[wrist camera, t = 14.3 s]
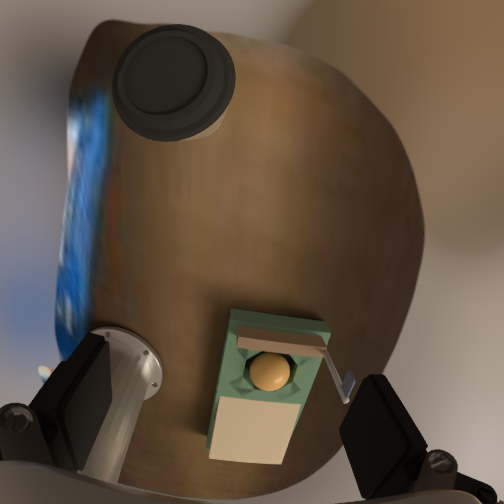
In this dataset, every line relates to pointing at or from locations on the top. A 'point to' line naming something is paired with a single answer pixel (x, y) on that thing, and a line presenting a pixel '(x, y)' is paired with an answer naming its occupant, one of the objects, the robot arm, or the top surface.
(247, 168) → the top surface
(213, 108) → the coffee cup
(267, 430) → the putting mat
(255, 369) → the ball
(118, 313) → the top surface
